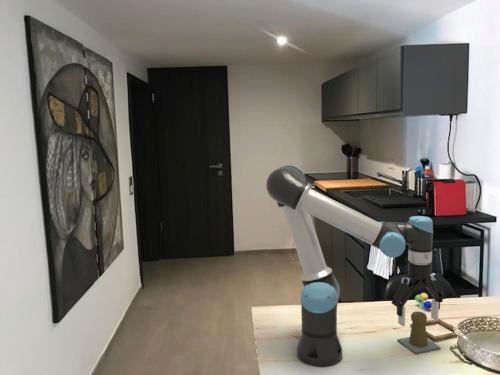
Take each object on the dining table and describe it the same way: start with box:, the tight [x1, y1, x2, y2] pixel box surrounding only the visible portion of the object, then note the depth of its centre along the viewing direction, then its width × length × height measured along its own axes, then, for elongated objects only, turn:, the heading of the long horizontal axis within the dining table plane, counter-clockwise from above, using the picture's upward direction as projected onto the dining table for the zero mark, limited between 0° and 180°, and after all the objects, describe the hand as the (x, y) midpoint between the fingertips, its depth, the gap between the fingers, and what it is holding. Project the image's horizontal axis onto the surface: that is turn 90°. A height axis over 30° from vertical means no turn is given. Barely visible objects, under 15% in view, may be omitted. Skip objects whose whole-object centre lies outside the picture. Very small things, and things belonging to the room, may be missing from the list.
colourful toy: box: [414, 292, 432, 310], centre depth 184 cm, size 8×3×6 cm, turn 20°
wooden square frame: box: [409, 318, 458, 343], centre depth 163 cm, size 13×13×1 cm
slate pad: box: [396, 336, 442, 355], centre depth 153 cm, size 10×10×1 cm
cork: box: [409, 311, 428, 347], centre depth 152 cm, size 6×6×11 cm
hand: (418, 321), depth 152 cm, fingers open, 13 cm apart
